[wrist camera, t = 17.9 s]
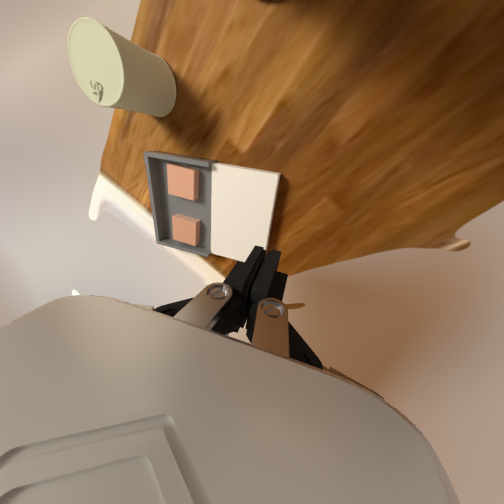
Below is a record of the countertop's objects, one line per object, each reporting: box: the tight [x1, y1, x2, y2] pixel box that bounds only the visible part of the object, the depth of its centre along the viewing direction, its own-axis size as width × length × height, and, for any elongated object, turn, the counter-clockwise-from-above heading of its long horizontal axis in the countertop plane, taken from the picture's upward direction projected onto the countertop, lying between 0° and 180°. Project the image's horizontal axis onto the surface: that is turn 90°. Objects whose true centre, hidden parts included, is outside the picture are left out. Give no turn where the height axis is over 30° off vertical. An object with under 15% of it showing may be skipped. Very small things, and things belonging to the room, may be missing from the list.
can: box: [68, 17, 176, 117], centre depth 31 cm, size 9×9×12 cm
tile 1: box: [167, 163, 199, 201], centre depth 41 cm, size 6×6×2 cm
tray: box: [143, 151, 218, 257], centre depth 44 cm, size 21×14×4 cm
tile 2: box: [172, 213, 200, 246], centre depth 46 cm, size 6×6×2 cm
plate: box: [211, 163, 281, 262], centre depth 42 cm, size 20×13×2 cm, turn 173°
